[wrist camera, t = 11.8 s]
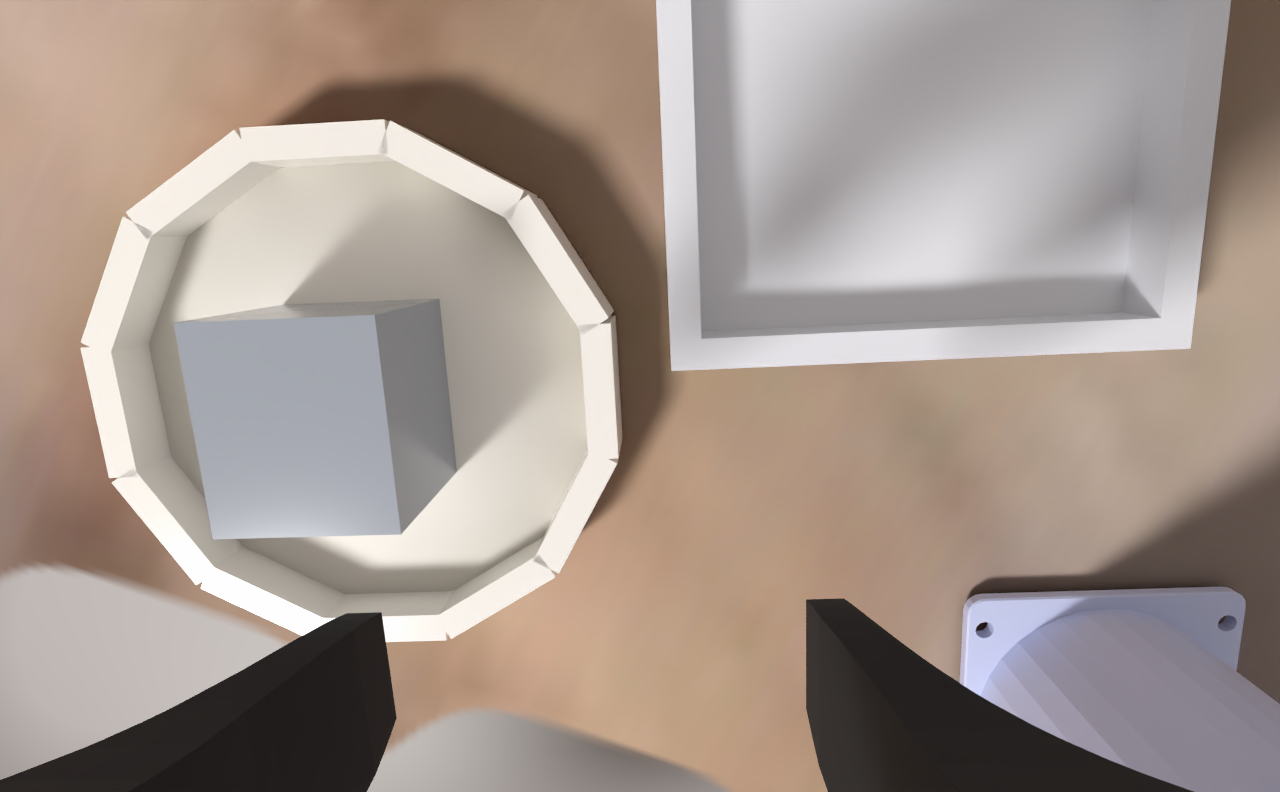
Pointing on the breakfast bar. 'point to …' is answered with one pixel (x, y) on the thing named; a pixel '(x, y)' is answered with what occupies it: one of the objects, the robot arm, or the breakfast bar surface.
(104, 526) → the breakfast bar surface
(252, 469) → the block
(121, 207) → the breakfast bar surface
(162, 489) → the bowl
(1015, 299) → the parts tray
